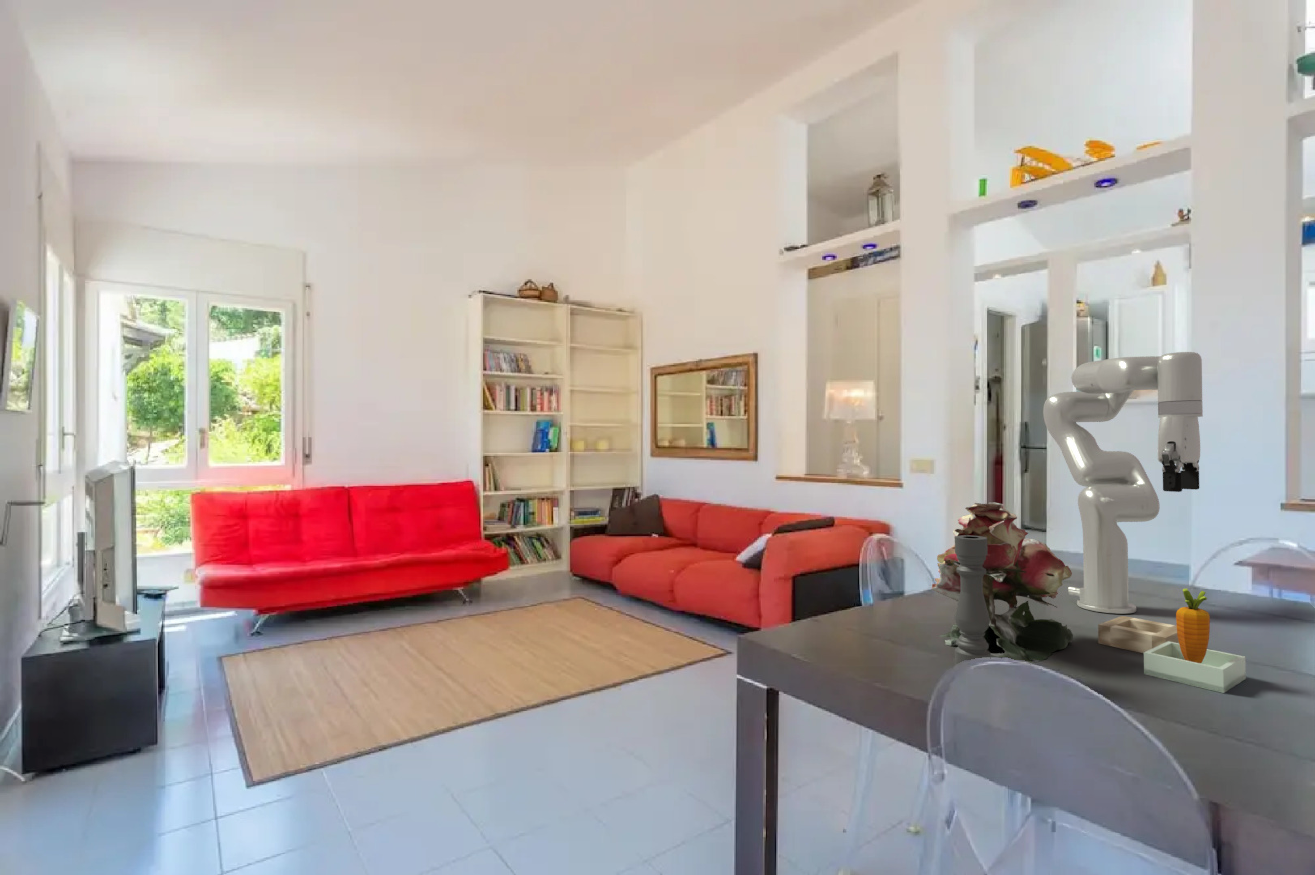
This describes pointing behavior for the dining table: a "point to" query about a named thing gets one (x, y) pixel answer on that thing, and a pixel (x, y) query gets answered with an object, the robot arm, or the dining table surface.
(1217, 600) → the dining table surface
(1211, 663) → the tray
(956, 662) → the candle holder
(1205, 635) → the carrot
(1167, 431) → the robot arm
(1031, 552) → the rose bouquet
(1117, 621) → the wooden stand
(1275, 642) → the dining table surface
